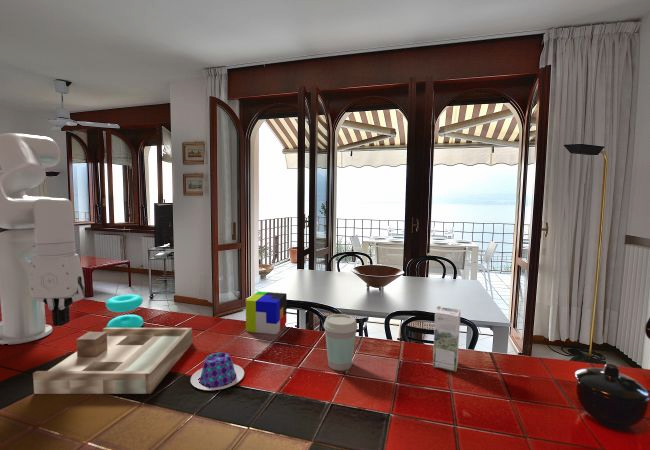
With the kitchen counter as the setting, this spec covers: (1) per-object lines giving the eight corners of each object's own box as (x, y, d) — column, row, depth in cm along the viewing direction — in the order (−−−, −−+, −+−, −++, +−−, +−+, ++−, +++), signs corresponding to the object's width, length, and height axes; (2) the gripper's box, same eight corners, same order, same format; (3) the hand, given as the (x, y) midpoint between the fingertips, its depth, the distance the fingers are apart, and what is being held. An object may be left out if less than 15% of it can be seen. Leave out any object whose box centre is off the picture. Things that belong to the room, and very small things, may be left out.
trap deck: (34, 393, 74) (32, 373, 73) (105, 342, 99) (104, 327, 98) (150, 393, 74) (150, 373, 74) (192, 343, 99) (192, 327, 99)
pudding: (229, 361, 90) (229, 341, 89) (253, 380, 81) (253, 358, 80) (182, 377, 82) (182, 355, 81) (203, 400, 73) (202, 376, 72)
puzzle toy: (276, 334, 106) (276, 302, 105) (245, 331, 108) (245, 300, 107) (286, 322, 116) (286, 293, 115) (258, 320, 118) (258, 291, 117)
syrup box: (458, 362, 90) (460, 308, 89) (456, 373, 85) (459, 315, 83) (435, 357, 92) (437, 304, 91) (432, 367, 87) (434, 311, 86)
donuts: (114, 304, 101) (99, 298, 107) (116, 338, 102) (101, 329, 108) (148, 296, 109) (133, 291, 115) (149, 327, 110) (134, 320, 116)
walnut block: (77, 357, 84) (76, 339, 83) (89, 348, 88) (88, 331, 88) (96, 357, 84) (95, 339, 83) (107, 349, 88) (106, 331, 88)
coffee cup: (363, 364, 88) (364, 319, 87) (341, 377, 82) (342, 328, 81) (338, 353, 94) (338, 310, 93) (316, 365, 88) (316, 319, 86)
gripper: (10, 252, 79) (17, 330, 81) (77, 251, 80) (82, 329, 81) (37, 248, 87) (42, 319, 88) (97, 247, 87) (102, 318, 89)
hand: (61, 324), depth 85 cm, fingers closed
